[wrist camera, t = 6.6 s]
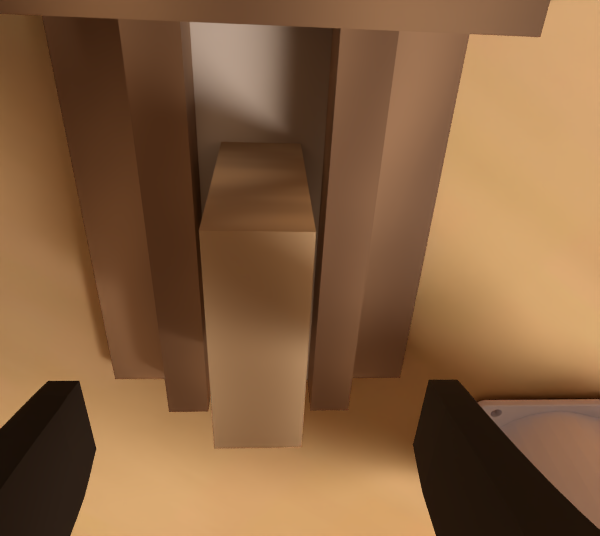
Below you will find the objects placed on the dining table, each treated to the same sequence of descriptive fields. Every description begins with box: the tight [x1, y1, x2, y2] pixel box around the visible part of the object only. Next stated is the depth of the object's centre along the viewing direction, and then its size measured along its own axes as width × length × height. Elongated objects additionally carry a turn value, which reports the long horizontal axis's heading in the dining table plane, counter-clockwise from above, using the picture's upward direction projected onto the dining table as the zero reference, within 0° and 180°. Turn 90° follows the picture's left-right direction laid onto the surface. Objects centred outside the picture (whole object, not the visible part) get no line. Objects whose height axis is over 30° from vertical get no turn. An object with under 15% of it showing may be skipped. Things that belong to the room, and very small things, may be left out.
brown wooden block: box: [199, 142, 316, 449], centre depth 15 cm, size 3×7×6 cm, turn 178°
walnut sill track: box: [0, 0, 550, 412], centre depth 16 cm, size 12×16×5 cm
